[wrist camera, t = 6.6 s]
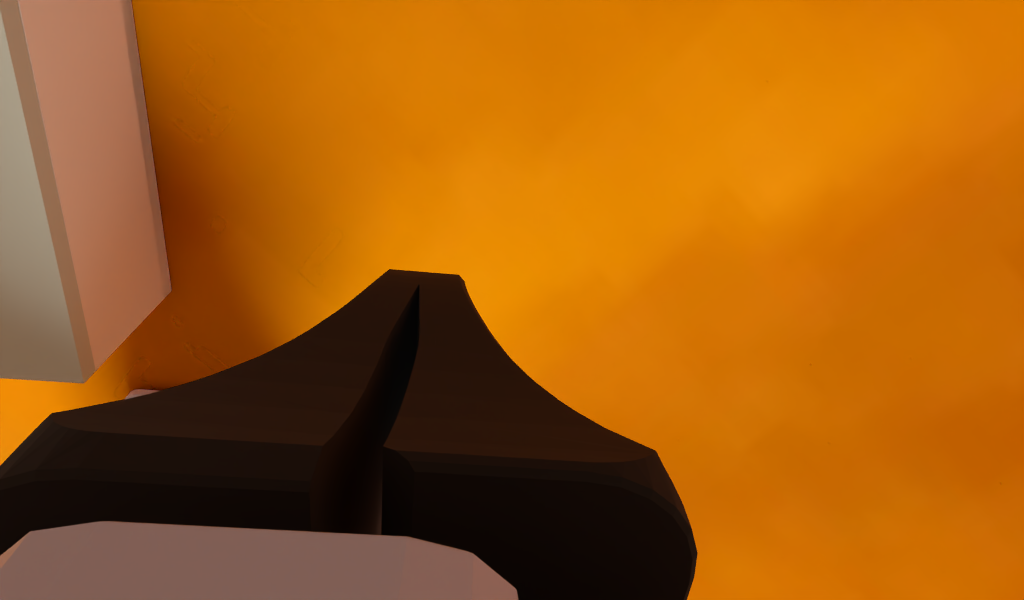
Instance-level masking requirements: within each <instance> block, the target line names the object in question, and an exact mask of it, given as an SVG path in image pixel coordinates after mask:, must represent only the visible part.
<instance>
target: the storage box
mask: <svg viewBox="0 0 1024 600" xmlns="http://www.w3.org/2000/svg"><path fill="white" fill-rule="evenodd" d="M17 3H18V8H19V13H20V17H21V22H22V27H23V31H24V36H25V41H26V45H27V50H28V55H29V60H30V64H31V69H32V74H33V78H34V83H35V88H36V92H37V97H38V102H39V107H40V111H41V116H42V121H43V125H44V130H45V135H46V139H47V144H48V149H49V154H50V158H51V163H52V168H53V172H54V177H55V182H56V186H57V191H58V196H59V201H60V205H61V210H62V215H63V219H64V224H65V229H66V233H67V238H68V243H69V248H70V252H71V257H72V262H73V266H74V271H75V276H76V280H77V285H78V290H79V295H80V299H81V304H82V309H83V313H84V318H85V323H86V328H87V332H88V337H89V342H90V346H91V351H92V356H93V360H94V365H95V370H97V369H98V368H99V367H100V366H101V365H102V364H103V363H104V362H105V361H106V360H107V358H108V357H109V356H110V355H111V354H112V353H113V352H114V351H115V350H116V349H117V348H118V347H119V346H120V345H121V344H122V343H123V342H124V341H125V339H126V338H127V337H128V336H129V335H130V334H131V333H132V332H133V331H134V330H135V329H136V328H137V327H138V326H139V325H140V324H141V323H142V322H143V321H144V319H145V318H146V317H147V316H148V315H149V314H150V313H151V312H152V311H153V310H154V309H155V308H156V307H157V306H158V305H159V304H160V303H161V302H162V301H163V299H164V298H165V297H166V296H167V295H168V294H169V293H170V292H171V291H172V289H171V282H170V275H169V268H168V261H167V253H166V246H165V239H164V232H163V225H162V217H161V210H160V203H159V196H158V189H157V181H156V174H155V167H154V160H153V153H152V146H151V138H150V131H149V124H148V117H147V110H146V102H145V95H144V88H143V81H142V74H141V67H140V59H139V52H138V45H137V38H136V31H135V23H134V16H133V9H132V2H131V0H17Z"/></svg>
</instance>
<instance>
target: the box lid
mask: <svg viewBox="0 0 1024 600" xmlns="http://www.w3.org/2000/svg"><path fill="white" fill-rule="evenodd" d="M95 371H96V370H95V365H94V360H93V356H92V351H91V346H90V342H89V337H88V332H87V328H86V323H85V318H84V313H83V309H82V304H81V299H80V295H79V290H78V285H77V280H76V276H75V271H74V266H73V262H72V257H71V252H70V248H69V243H68V238H67V233H66V229H65V224H64V219H63V215H62V210H61V205H60V201H59V196H58V191H57V186H56V182H55V177H54V172H53V168H52V163H51V158H50V154H49V149H48V144H47V139H46V135H45V130H44V125H43V121H42V116H41V111H40V107H39V102H38V97H37V92H36V88H35V83H34V78H33V74H32V69H31V64H30V60H29V55H28V50H27V45H26V41H25V36H24V31H23V27H22V22H21V17H20V13H19V8H18V3H17V0H0V378H8V379H24V380H40V381H56V382H72V383H85V382H86V381H87V380H88V379H89V377H90V376H91V375H92V374H93V373H94V372H95Z"/></svg>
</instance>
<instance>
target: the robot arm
mask: <svg viewBox="0 0 1024 600" xmlns="http://www.w3.org/2000/svg"><path fill="white" fill-rule="evenodd" d="M696 560H697V549H696V545H695V541H694V537H693V532H692V529H691V526H690V523H689V520H688V517H687V514H686V512H685V509H684V506H683V504H682V501H681V499H680V497H679V495H678V493H677V491H676V489H675V487H674V485H673V483H672V481H671V479H670V477H669V475H668V473H667V471H666V470H665V468H664V466H663V464H662V462H661V460H660V458H659V456H658V454H657V452H656V451H655V450H653V449H650V448H648V447H646V446H644V445H642V444H639V443H637V442H635V441H633V440H630V439H628V438H626V437H624V436H621V435H619V434H617V433H615V432H613V431H610V430H608V429H606V428H604V427H602V426H600V425H599V424H597V423H595V422H593V421H592V420H590V419H588V418H586V417H585V416H583V415H581V414H579V413H578V412H576V411H575V410H573V409H571V408H570V407H568V406H567V405H565V404H564V403H562V402H561V401H559V400H558V399H557V398H555V397H554V396H553V395H551V394H550V393H549V392H547V391H546V390H545V389H544V388H542V387H541V386H540V385H538V384H537V383H536V382H535V381H534V380H532V379H531V378H530V377H529V376H528V375H527V374H526V373H525V372H524V371H523V370H522V369H521V368H520V367H519V366H518V365H516V364H515V363H514V362H513V361H512V359H511V358H510V357H509V356H508V355H507V354H506V352H505V351H504V350H503V348H502V347H501V346H500V345H499V343H498V342H497V341H496V339H495V338H494V337H493V335H492V334H491V332H490V331H489V329H488V328H487V326H486V325H485V323H484V321H483V320H482V318H481V317H480V315H479V313H478V312H477V310H476V308H475V306H474V304H473V302H472V300H471V298H470V296H469V294H468V292H467V289H466V286H465V281H464V280H463V279H462V278H461V277H460V276H459V275H454V274H441V273H429V272H417V271H404V270H392V269H389V270H388V271H387V272H385V273H384V274H383V275H382V276H380V277H379V278H378V279H377V280H375V281H374V282H373V283H372V284H371V285H370V286H368V287H367V288H366V289H365V290H364V291H362V292H361V293H360V294H359V295H357V296H356V297H355V298H354V299H352V300H351V301H350V302H349V303H347V304H346V305H345V306H343V307H342V308H341V309H340V310H338V311H337V312H335V313H334V314H332V315H331V316H329V317H328V318H326V319H325V320H323V321H322V322H320V323H319V324H317V325H316V326H314V327H313V328H311V329H310V330H308V331H307V332H305V333H303V334H302V335H300V336H298V337H296V338H295V339H293V340H291V341H289V342H287V343H285V344H283V345H281V346H279V347H277V348H275V349H273V350H271V351H269V352H267V353H265V354H263V355H261V356H259V357H257V358H254V359H251V360H249V361H246V362H244V363H241V364H239V365H236V366H234V367H231V368H229V369H226V370H224V371H221V372H219V373H216V374H213V375H211V376H208V377H205V378H202V379H199V380H195V381H192V382H189V383H186V384H183V385H179V386H176V387H172V388H168V389H165V390H161V391H160V390H144V389H137V390H133V391H131V392H130V393H129V394H128V395H127V397H126V398H125V399H124V400H119V401H114V402H109V403H104V404H99V405H94V406H89V407H84V408H79V409H74V410H68V411H62V412H56V413H52V414H51V415H49V416H48V417H47V418H46V419H45V420H44V421H43V422H42V423H41V424H40V425H39V426H38V427H37V428H36V429H35V430H34V431H33V432H32V433H31V434H30V435H29V436H28V437H27V438H26V439H25V440H24V441H23V443H22V444H21V445H20V446H19V447H18V448H17V449H16V450H15V451H14V452H13V453H12V454H11V455H10V456H9V457H8V458H7V459H6V460H5V461H4V463H3V464H2V465H1V466H0V600H687V597H688V594H689V591H690V588H691V585H692V582H693V579H694V574H695V567H696Z"/></svg>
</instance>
